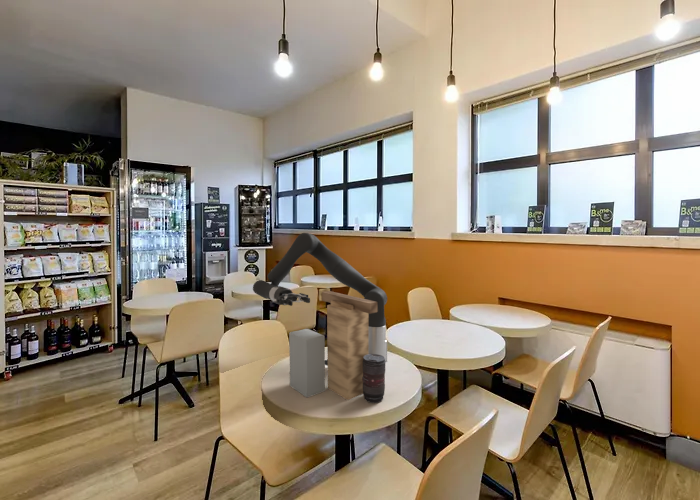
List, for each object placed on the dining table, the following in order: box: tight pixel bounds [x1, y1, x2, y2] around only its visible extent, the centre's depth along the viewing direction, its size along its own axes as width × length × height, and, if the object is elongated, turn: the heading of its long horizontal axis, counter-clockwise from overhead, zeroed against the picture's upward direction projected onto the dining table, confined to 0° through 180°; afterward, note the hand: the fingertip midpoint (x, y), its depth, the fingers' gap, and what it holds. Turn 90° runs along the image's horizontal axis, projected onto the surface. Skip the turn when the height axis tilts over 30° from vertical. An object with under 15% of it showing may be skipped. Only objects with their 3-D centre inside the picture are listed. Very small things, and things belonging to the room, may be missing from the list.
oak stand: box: [326, 300, 369, 401], centre depth 128 cm, size 10×12×34 cm
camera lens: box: [362, 354, 386, 404], centre depth 122 cm, size 8×8×15 cm
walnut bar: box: [318, 287, 377, 314], centre depth 128 cm, size 4×30×4 cm, turn 40°
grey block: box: [288, 328, 326, 398], centre depth 130 cm, size 8×12×21 cm, turn 40°
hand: (300, 301), depth 143 cm, fingers open, 8 cm apart
